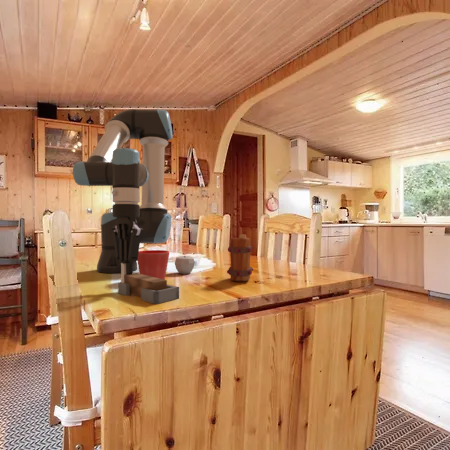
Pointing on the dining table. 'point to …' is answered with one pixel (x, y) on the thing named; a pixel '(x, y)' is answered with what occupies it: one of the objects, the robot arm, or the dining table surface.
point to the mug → (240, 259)
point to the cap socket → (160, 294)
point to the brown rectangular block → (143, 283)
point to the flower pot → (153, 263)
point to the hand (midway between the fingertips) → (126, 285)
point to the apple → (184, 264)
